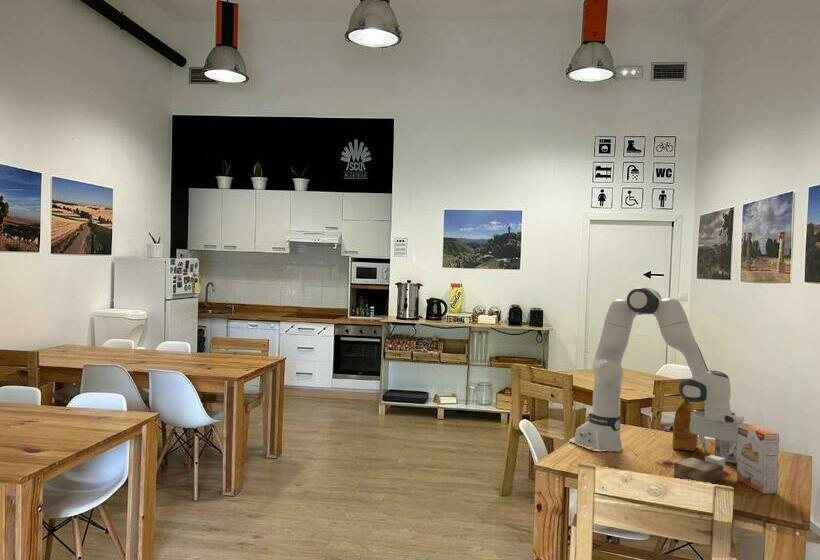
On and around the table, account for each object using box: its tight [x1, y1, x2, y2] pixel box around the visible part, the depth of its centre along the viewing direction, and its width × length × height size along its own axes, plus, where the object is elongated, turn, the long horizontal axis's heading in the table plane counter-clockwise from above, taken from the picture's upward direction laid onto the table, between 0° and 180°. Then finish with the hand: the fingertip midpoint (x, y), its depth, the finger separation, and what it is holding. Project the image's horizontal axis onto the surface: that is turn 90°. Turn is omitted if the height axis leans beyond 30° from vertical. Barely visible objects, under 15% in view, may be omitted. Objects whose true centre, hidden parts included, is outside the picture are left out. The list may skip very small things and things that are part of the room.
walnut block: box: [673, 456, 724, 484], centre depth 219 cm, size 12×12×5 cm
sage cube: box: [704, 454, 726, 473], centre depth 228 cm, size 5×5×5 cm
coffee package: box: [671, 398, 699, 452], centre depth 257 cm, size 10×12×22 cm
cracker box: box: [736, 423, 780, 495], centre depth 211 cm, size 14×6×21 cm, turn 5°
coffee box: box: [714, 438, 738, 464], centre depth 244 cm, size 9×6×16 cm
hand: (716, 450), depth 228 cm, fingers open, 8 cm apart
